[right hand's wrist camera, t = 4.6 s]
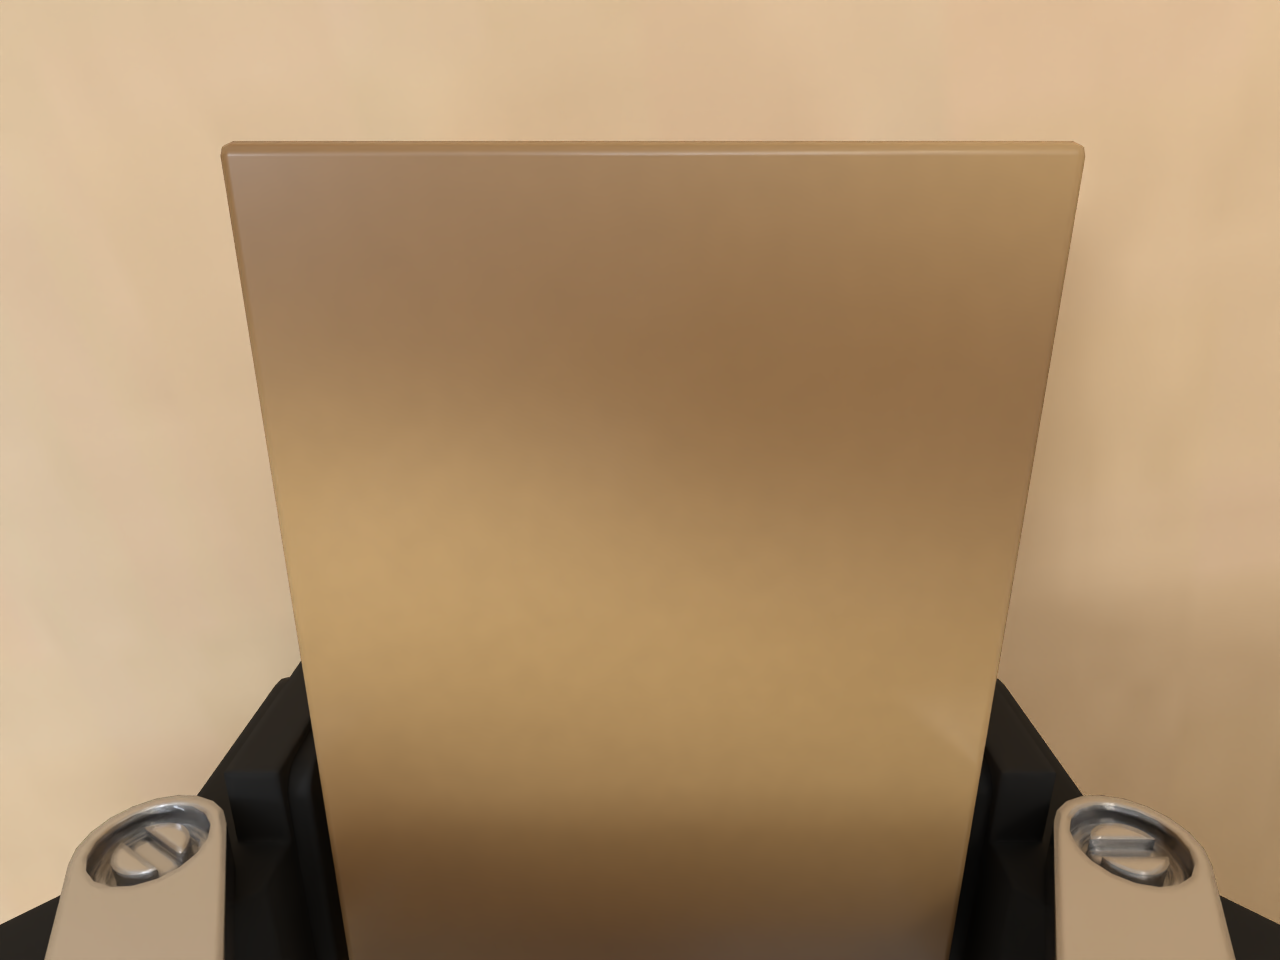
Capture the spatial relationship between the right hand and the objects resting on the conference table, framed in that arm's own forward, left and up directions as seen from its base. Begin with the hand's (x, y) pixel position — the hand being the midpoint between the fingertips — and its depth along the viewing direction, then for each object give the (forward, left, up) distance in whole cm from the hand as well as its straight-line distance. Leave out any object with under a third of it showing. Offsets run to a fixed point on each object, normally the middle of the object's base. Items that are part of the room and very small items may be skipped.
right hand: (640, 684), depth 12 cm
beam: (+9, +16, -2) cm, 18 cm away
